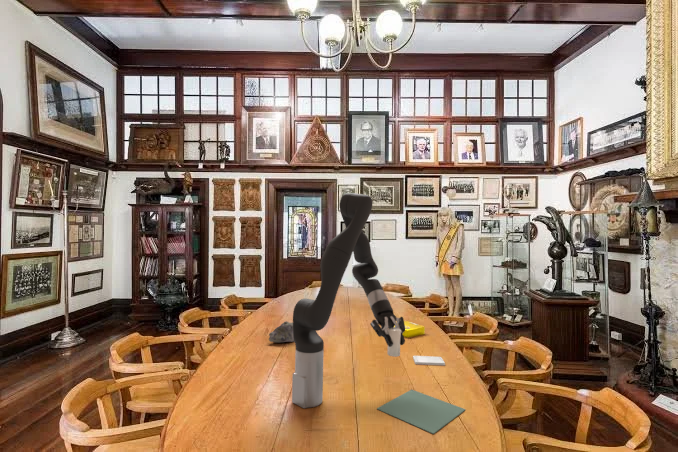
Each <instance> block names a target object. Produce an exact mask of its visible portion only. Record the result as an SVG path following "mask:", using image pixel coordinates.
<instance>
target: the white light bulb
mask: <svg viewBox="0 0 678 452" xmlns="http://www.w3.org/2000/svg"><path fill="white" fill-rule="evenodd" d="M388 335H390V337H391V339H392V342H393V345H392V346H391V347H389V346H388V345H387V355H388V356H390V357H400V355H401V345H400V336H401V330H400V329H398V328H388Z"/></svg>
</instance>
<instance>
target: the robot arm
mask: <svg viewBox="0 0 678 452" xmlns="http://www.w3.org/2000/svg"><path fill="white" fill-rule="evenodd" d="M372 209H373V199H372V197H371V196H370V195H367V194H363V193H354V192H346V193H344V194H342V196H341V197H340V200H339V212H340V215H341V218H342V221H343V223H344V226H345V228H344V229H343V230H342V231H341V232H340V233H338V234H337V235H336V236H334V238H332V239H331V240H330V241H329V243H328V244H327V245H326V247H325V250H324V253H323V254H322V257H321V259H320V265H319V266H320V278H321V282H320V288H319V290H318V294H317V295H316V298H315V299H310V298H301V299H300V300H298V301H297V302H296V304H295V306H294V308H293V312H292V322H293V338H294V344H295V354H294V358H295V361H294V372H292V382H291V383H292V384H291V385H292V389H291V402H292V403H293V404H295V405H296V406H298V407H301V408H303V409H307V408H314V407H318V406H319V405H321V404H322V403H323V398H324V397H323V394H324V393H323V392H324V391H323V390H324V354H325V353H324V349H325V348H324V347H325V346H324V344H325V343H324V340H323V338H322V337H321V336H320V335H319V334H318V331H321V330H323V329H324V328H325V327H326V326H327V324H328V322H329V320H330V318H331V314H332V310H333V308H334V303H335V301H336V297H337V294H338V291H339V288H340V285H341V282H342V280H343V277H344V275H345V272H346V270H347V268H348V266H349V263H350V260H351V258H352V255H353V257H354V260H355V262H356V263H357V264H355V265H353V267H352V270H351V273H352V276H353V278H354V279H355V280H356V281H357V283H358V284H359V285H360V286H361V288H362V289H363V291H364V293H365V296H366V299H367V302H368V304H369V307H370V310H371V312H372V314H373V317H374V319H372V321H371V322H370V326H371V328H372V329H373V330H374V332H375V333H376V335H377V337H382V338H384V340H385V343H386V345H387V347H388V346H389V347H391V346H392V345H393V342H392V339H391V337H390V335H388V329H389V328H398V329H400V330H401V336H400V346H403V345H405V342H406V339H405V337H403V332H404V331H405V325H404V321H405V320H404V317H403V316H400V317H397V316H396V315H395V314H394V310H393V309H394V308H393V307H392V304H391V302H390V300H389V298H388V296H387V294H386V292H385V291H384V288H383V287H382V284H381V282H380V280H379V279H376V278H375V277H377V275H378V273H379V268H378V265H377V263H376V262H375V260H374V257H373V255H372V251H371V250H372V249H371V244H370V241H369V237H368V236H367V235H366V233H365V232H364V230H363V229H364V227H365V225H366V224H367V221H368V219H369V217H370V215H371V213H372ZM394 326H395V327H394Z"/></svg>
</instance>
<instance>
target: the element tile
mask: <svg viewBox="0 0 678 452" xmlns="http://www.w3.org/2000/svg"><path fill="white" fill-rule="evenodd" d="M404 325H405V331H404V332H403V337H404V338H413V337H417V336H418V337H419V336H422V335H425V334H426V331H425V330H426V327H425V326H424V325H421V324H418V323H414V322H411V321H410V320H409V321H408V320H404ZM394 327H395V326H394Z"/></svg>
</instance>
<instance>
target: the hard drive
mask: <svg viewBox="0 0 678 452" xmlns="http://www.w3.org/2000/svg"><path fill="white" fill-rule="evenodd" d="M412 359H413V361H414V365H423V366H425V365H426V366H446V362H445V361H444V359H443V358H442V356H432V355H431V356H428V355H412Z"/></svg>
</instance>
